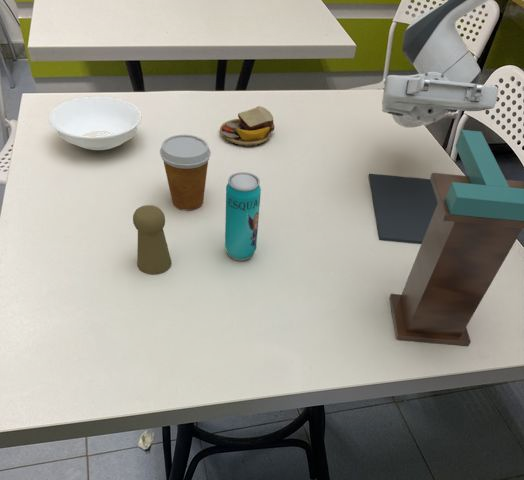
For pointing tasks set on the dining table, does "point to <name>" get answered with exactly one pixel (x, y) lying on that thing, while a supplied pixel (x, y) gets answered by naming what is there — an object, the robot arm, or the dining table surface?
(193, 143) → the disposable coffee cup
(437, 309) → the stand
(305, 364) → the dining table surface
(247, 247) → the beverage can
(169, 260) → the olive pawn
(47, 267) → the dining table surface
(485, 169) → the letter T
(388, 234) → the mat
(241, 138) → the toy sandwich meal
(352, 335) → the dining table surface
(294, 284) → the dining table surface
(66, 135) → the bowl
